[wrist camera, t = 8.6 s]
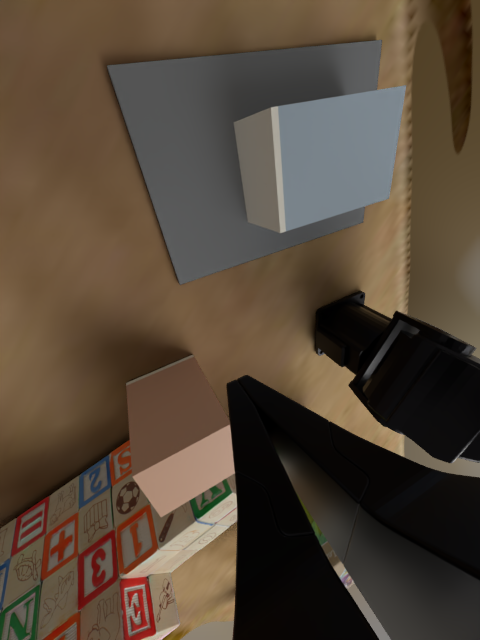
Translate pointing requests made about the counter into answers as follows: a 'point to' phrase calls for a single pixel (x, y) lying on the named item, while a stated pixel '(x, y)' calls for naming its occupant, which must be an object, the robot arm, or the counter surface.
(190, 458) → the dusty pink block
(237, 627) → the robot arm
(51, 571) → the stack of blocks
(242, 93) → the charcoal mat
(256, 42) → the counter surface
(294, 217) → the slate blue block
